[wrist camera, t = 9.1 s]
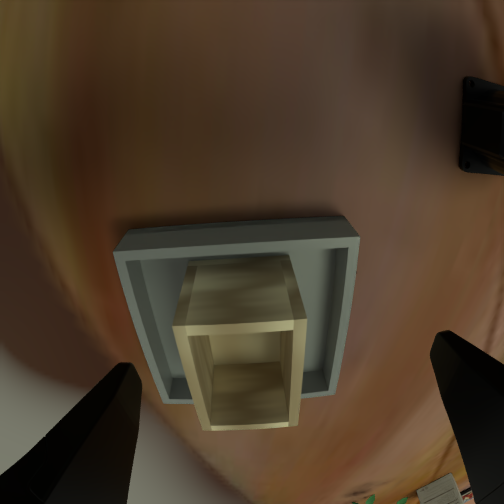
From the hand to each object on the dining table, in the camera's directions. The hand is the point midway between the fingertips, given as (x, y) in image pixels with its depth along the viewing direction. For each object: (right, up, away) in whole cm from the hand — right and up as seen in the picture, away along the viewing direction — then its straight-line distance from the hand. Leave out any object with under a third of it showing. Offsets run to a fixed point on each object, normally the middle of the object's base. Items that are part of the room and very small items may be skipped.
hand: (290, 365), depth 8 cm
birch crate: (-2, -1, +13) cm, 13 cm away
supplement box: (+41, -50, +41) cm, 76 cm away
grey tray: (-2, -1, +14) cm, 14 cm away
